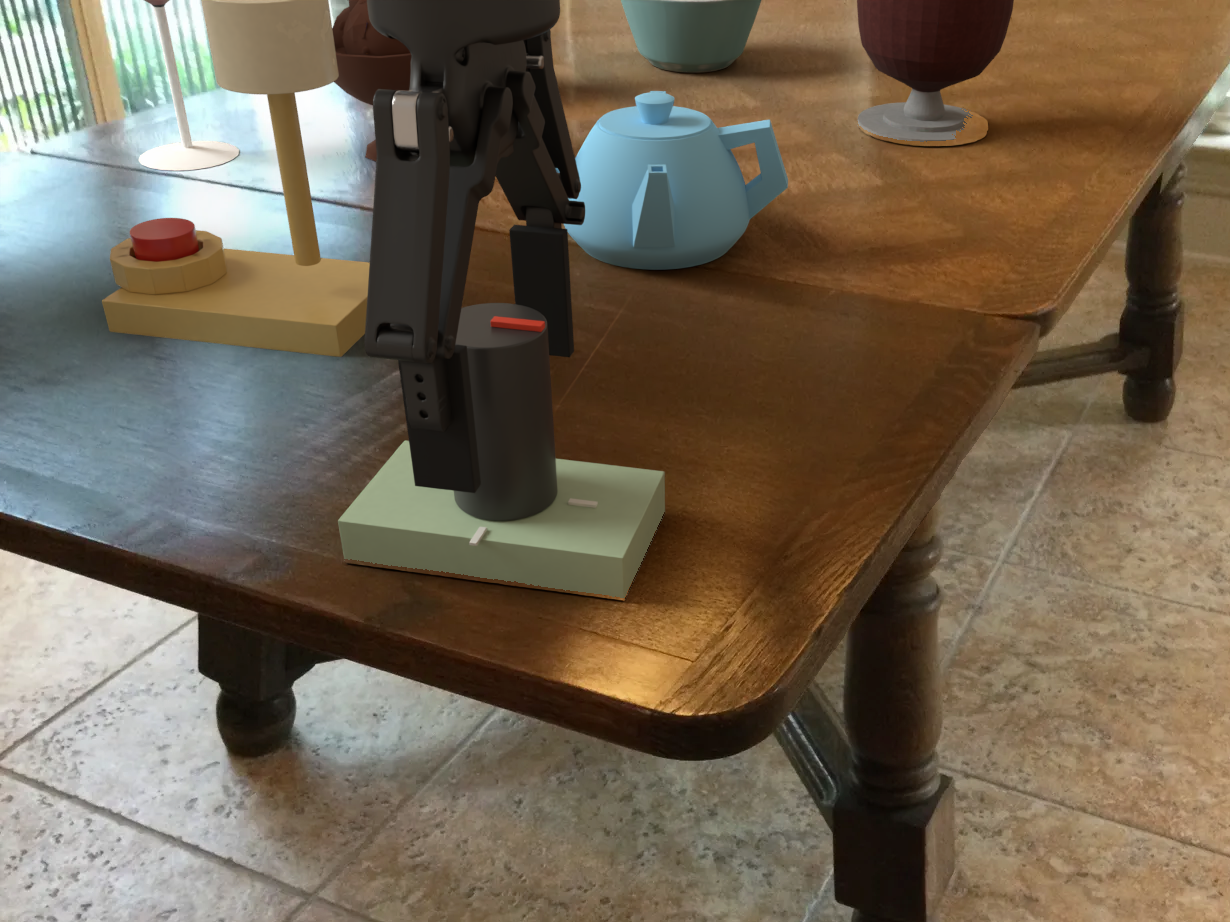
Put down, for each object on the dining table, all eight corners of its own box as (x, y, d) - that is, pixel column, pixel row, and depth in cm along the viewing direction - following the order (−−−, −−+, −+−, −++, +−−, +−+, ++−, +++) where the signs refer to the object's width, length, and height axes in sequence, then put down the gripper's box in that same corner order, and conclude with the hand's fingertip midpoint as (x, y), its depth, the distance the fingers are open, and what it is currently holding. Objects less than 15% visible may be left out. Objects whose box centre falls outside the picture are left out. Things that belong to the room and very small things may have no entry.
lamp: (230, 277, 84) (175, -2, 75) (283, 237, 90) (238, -26, 81) (334, 287, 83) (291, 6, 74) (381, 247, 89) (347, -19, 80)
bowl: (738, 88, 137) (740, 2, 132) (595, 73, 141) (592, -10, 136) (780, 52, 150) (783, -27, 145) (647, 40, 153) (646, -38, 149)
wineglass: (216, 133, 122) (164, -137, 110) (260, 159, 116) (211, -123, 104) (118, 150, 117) (53, -129, 105) (159, 179, 111) (95, -114, 99)
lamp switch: (122, 262, 87) (116, 236, 86) (156, 240, 90) (151, 215, 89) (179, 267, 86) (173, 241, 85) (211, 245, 90) (206, 220, 89)
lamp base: (88, 330, 87) (73, 271, 85) (172, 272, 95) (160, 217, 93) (341, 357, 84) (331, 297, 82) (404, 295, 92) (397, 239, 90)
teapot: (651, 299, 92) (649, 142, 86) (511, 242, 101) (501, 95, 95) (797, 242, 101) (804, 97, 95) (658, 194, 110) (657, 58, 104)
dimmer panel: (339, 570, 65) (331, 524, 63) (414, 475, 72) (408, 431, 71) (620, 609, 62) (619, 562, 61) (668, 506, 70) (667, 462, 68)
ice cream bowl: (318, 144, 120) (291, -37, 111) (439, 129, 124) (422, -46, 116) (348, 179, 112) (322, -12, 104) (477, 162, 116) (461, -23, 108)
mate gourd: (904, 158, 119) (926, -90, 108) (820, 117, 129) (833, -113, 118) (1041, 135, 125) (1076, -101, 114) (951, 98, 135) (975, -122, 124)
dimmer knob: (438, 514, 64) (417, 335, 59) (475, 463, 68) (458, 291, 63) (539, 527, 63) (526, 347, 58) (570, 474, 67) (561, 301, 62)
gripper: (423, -9, 41) (485, 569, 52) (635, -119, 61) (645, 314, 73) (197, -21, 42) (306, 546, 54) (478, -125, 62) (513, 302, 74)
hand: (501, 413), depth 63 cm, fingers open, 13 cm apart
